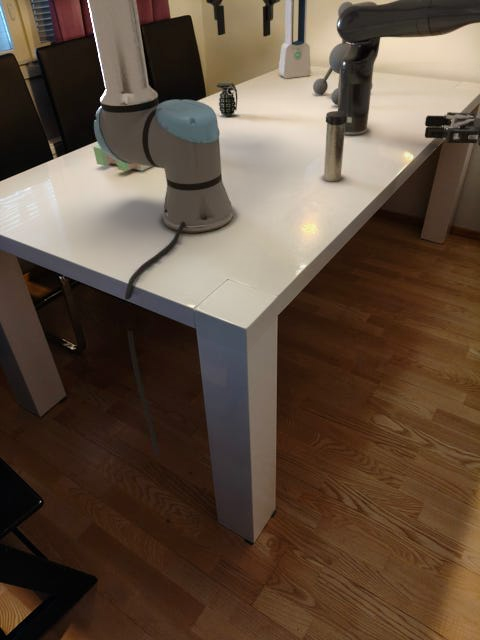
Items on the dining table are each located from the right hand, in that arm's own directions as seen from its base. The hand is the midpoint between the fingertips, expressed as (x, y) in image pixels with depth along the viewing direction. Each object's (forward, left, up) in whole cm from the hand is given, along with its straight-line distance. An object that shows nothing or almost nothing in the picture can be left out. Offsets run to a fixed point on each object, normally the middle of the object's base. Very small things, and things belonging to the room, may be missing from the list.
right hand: (425, 126), depth 108 cm
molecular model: (-77, -27, -13) cm, 83 cm away
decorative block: (-6, -74, -13) cm, 76 cm away
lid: (0, -20, +2) cm, 20 cm away
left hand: (-24, -49, +15) cm, 56 cm away
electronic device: (-112, -53, -13) cm, 125 cm away
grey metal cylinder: (0, -20, -13) cm, 24 cm away
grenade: (-49, -63, -13) cm, 81 cm away
